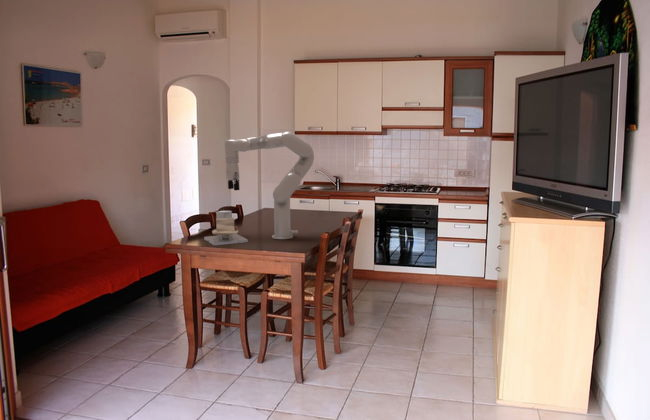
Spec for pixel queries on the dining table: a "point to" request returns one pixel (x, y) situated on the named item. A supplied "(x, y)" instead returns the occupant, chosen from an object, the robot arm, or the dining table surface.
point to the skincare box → (224, 214)
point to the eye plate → (225, 239)
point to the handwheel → (225, 227)
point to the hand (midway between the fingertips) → (233, 189)
